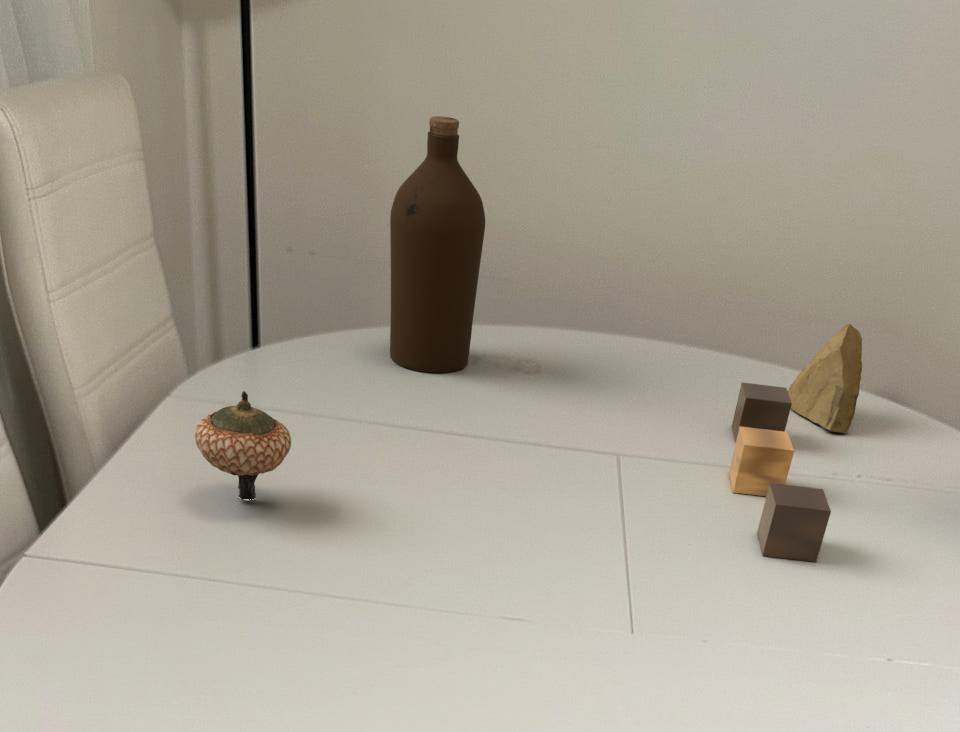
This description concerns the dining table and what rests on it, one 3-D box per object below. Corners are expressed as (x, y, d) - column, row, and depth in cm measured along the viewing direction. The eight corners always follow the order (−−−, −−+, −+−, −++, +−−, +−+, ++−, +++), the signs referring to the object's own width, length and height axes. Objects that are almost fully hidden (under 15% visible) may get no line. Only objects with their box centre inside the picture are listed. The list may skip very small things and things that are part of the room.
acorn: (182, 508, 107) (175, 395, 101) (225, 475, 113) (220, 367, 107) (268, 528, 106) (265, 414, 99) (306, 493, 112) (306, 384, 105)
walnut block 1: (775, 432, 136) (786, 387, 133) (780, 448, 132) (792, 403, 129) (731, 426, 136) (741, 382, 133) (735, 443, 132) (745, 397, 129)
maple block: (776, 479, 125) (788, 431, 122) (781, 498, 121) (794, 450, 118) (728, 473, 125) (739, 425, 122) (732, 492, 121) (744, 444, 118)
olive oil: (468, 379, 140) (489, 133, 124) (378, 368, 140) (387, 121, 124) (476, 351, 148) (497, 117, 132) (391, 341, 148) (401, 105, 132)
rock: (877, 423, 135) (883, 383, 141) (848, 354, 130) (855, 317, 137) (786, 461, 141) (796, 422, 147) (755, 397, 137) (767, 360, 143)
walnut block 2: (808, 539, 114) (823, 488, 111) (816, 562, 111) (831, 511, 107) (756, 532, 114) (769, 482, 111) (762, 556, 111) (775, 504, 107)
